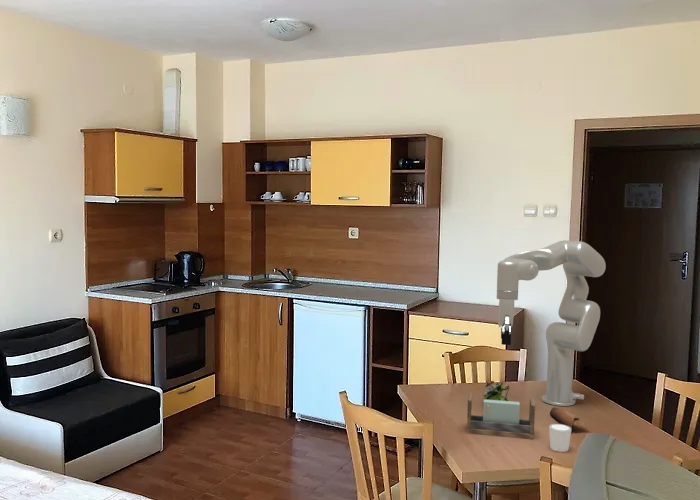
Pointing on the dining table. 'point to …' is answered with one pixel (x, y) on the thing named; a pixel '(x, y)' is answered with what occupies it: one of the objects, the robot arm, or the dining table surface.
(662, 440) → the dining table surface
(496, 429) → the wooden book rack
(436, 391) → the dining table surface
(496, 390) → the passion flower
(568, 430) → the white cup
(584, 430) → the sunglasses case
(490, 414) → the pale green box
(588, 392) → the dining table surface
